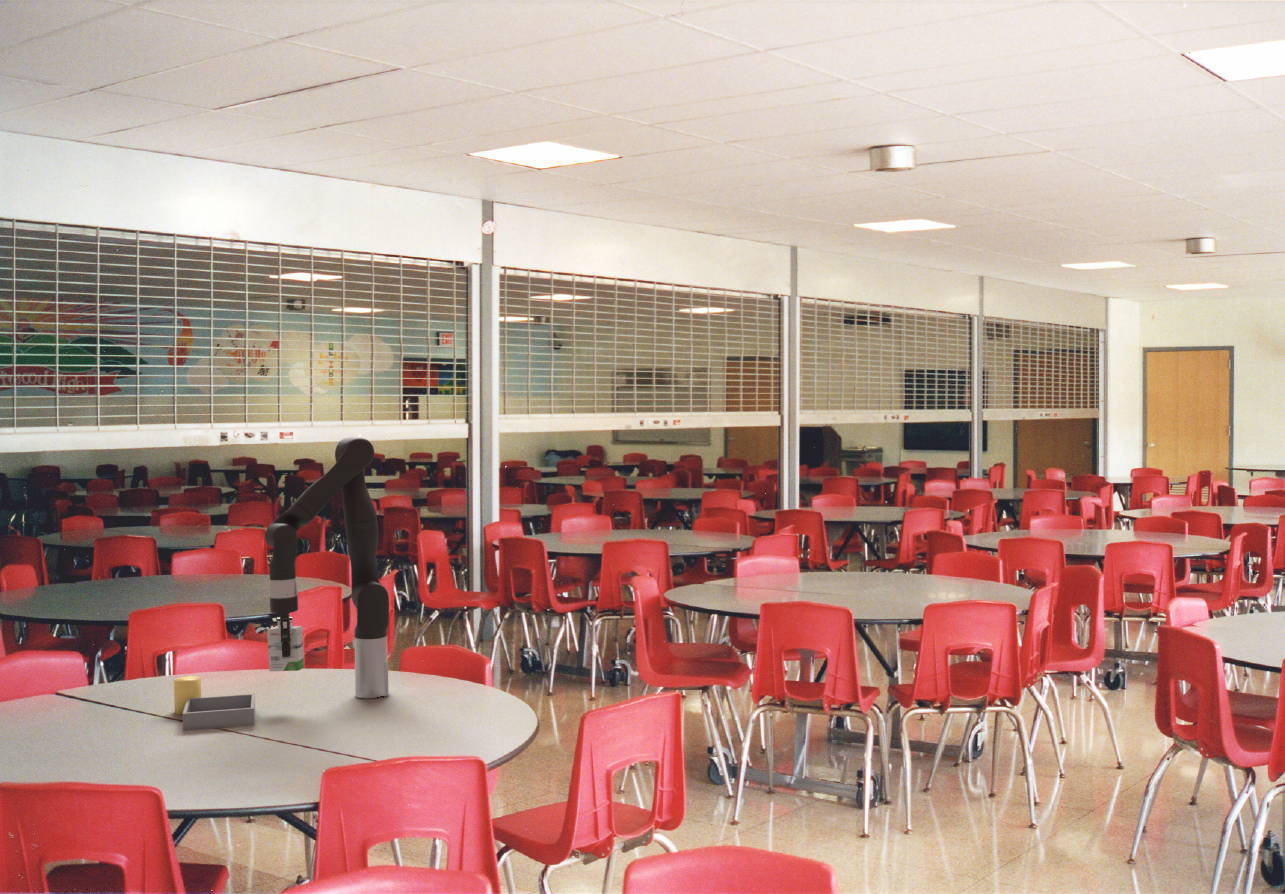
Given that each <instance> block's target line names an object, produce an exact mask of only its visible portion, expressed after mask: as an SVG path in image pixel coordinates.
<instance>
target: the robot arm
mask: <svg viewBox="0 0 1285 894" xmlns="http://www.w3.org/2000/svg"><path fill="white" fill-rule="evenodd" d="M334 450H335V451H334V456H335V457H334V458H335V464H333V466H332V467H331V468H330V469H329V470H328V471H327V472H325V474H323V476H321V477H320V478H319V479H317V480H316V481H314V483H312V484H311V485H309V486H308V487H307V488H306V489H305V490H304V491H303V492H302V493H301V494H300V495H299V496H298V497H297V499H296V500H295V501H294V502H293V503H292V505H290V507H289V508H288V509H287V510H285V511H284V512H283V513H282V514H280V515H279V516H278V517H277V518H275V519H274V520H273V521H272V522H270V524H269V525H268V527H266V530H265V533H264V540H265V542H266V544H267V545H269V546H270V547H272V548H273V549H272V550H273V551H272V559H270V561H269V566H268V567H269V568H268V569H269V570H268V571H269V572H268V573H269V585H268V587H269V592H268V593H269V610H270V611H269V612H270V613H271V614H274V615H275V614H279V617H277V618H276V620H277V627H279V636H281V644H282V657H290V642H291V639H290V635H291V634H292V631H291V630H290V629H291V628H292V627H291V626H293V617H292V616H290V613H295V612H297V611H298V610H299V596H298V582H297V573H296V558H297V554H298V545H299V544H298V542H299V540H298V533H297V532H298V531H299V530H300V529H301V528H303V527H304V526H308V525H309V524H310V523H311V522H312V521H313V520H314V519H315V518H316V517H317V516H318V514H319V513H320V512H321V511H322V510H323V509H324V507H325V506H326V505H327V504H328V503H329V502H330V501H331V500H332V499H333V498H334V497H335V495H336V494H338V492H339V491H340V490H341V497H342V507H343V508H342V509H343V517H344V528H345V529H344V530H345V537H346V538H345V539H346V542H347V549H348V550H347V551H348V556H349V561H350V567H351V569H350V570H351V576H350V577H351V601H352V603H353V605H354V606H355V607H356V608H357V610H356V611H357V612H356V626H355V628H354V677H355V680H354V681H355V682H354V683H355V684H354V686H355V687H354V690H355V693H354V696H355V698H359V699H378V698H377V697H379V698H381V697H380V696H384V697H388V695H389V693H390V691H389V662H388V629H389V623H390V597H389V592H388V590H387V589H386V587H385V586H384V585H382V584H380V580H379V577H378V570H377V551H378V546H379V526H378V518H377V512H376V508H375V506H374V502H373V499H372V497H371V495H370V492H369V491H368V488H367V485H366V479H365V477H366V476H365V469H366V468H367V467H368V466H369V465H371V463H372V462H373V460H374V458H375V448H374V445H373V444H372V443H371V441H369V439H366V438H364V437H344V438H342V439H341V440H340V441H339V442H338V443H337V445H336V447H335V449H334ZM286 635H288V638H283V636H286Z"/></svg>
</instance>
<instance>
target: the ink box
mask: <svg viewBox="0 0 1285 894" xmlns="http://www.w3.org/2000/svg"><path fill="white" fill-rule="evenodd" d="M291 627H292V628H291V629H290V630H291V631H292V634H291V635H290V639H291V642H290V657H282V644H281V636H279V627H278V626H274V627H271V628H268V629H267V630H266V632H267V633H266V635H267V650H268V651H267V652H268V655H267V656H268V669H269V670H268V671H269V672H296V671H301V670H302V669H303V668H305V655H304V635H303V626H302V625H298V626H297V625H292V626H291ZM283 638H288V635H286V636H283Z"/></svg>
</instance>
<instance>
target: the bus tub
mask: <svg viewBox="0 0 1285 894" xmlns="http://www.w3.org/2000/svg"><path fill="white" fill-rule="evenodd" d="M255 717H256V694H255V693H245V694H231V695H217V696H201V697H200V698H187V702H186V705H185V708H184V711H183V714H182V731H183V732H184V731H185V732H187V731H197V730H211V729H223V728H236V727H249V726H251V727H252V726H255Z"/></svg>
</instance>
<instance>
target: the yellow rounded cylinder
mask: <svg viewBox="0 0 1285 894" xmlns="http://www.w3.org/2000/svg"><path fill="white" fill-rule="evenodd" d="M173 696H174V697H173V698H174V699H173V701H174V702H173V703H174V709H173V710H174V714H176V715H183V711H184V708H185V705H186V702H187V698H200V697H202V678H201V677H200V676H195V675H193V676H190V675H188V676H181V677H177V678H174V679H173Z"/></svg>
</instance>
